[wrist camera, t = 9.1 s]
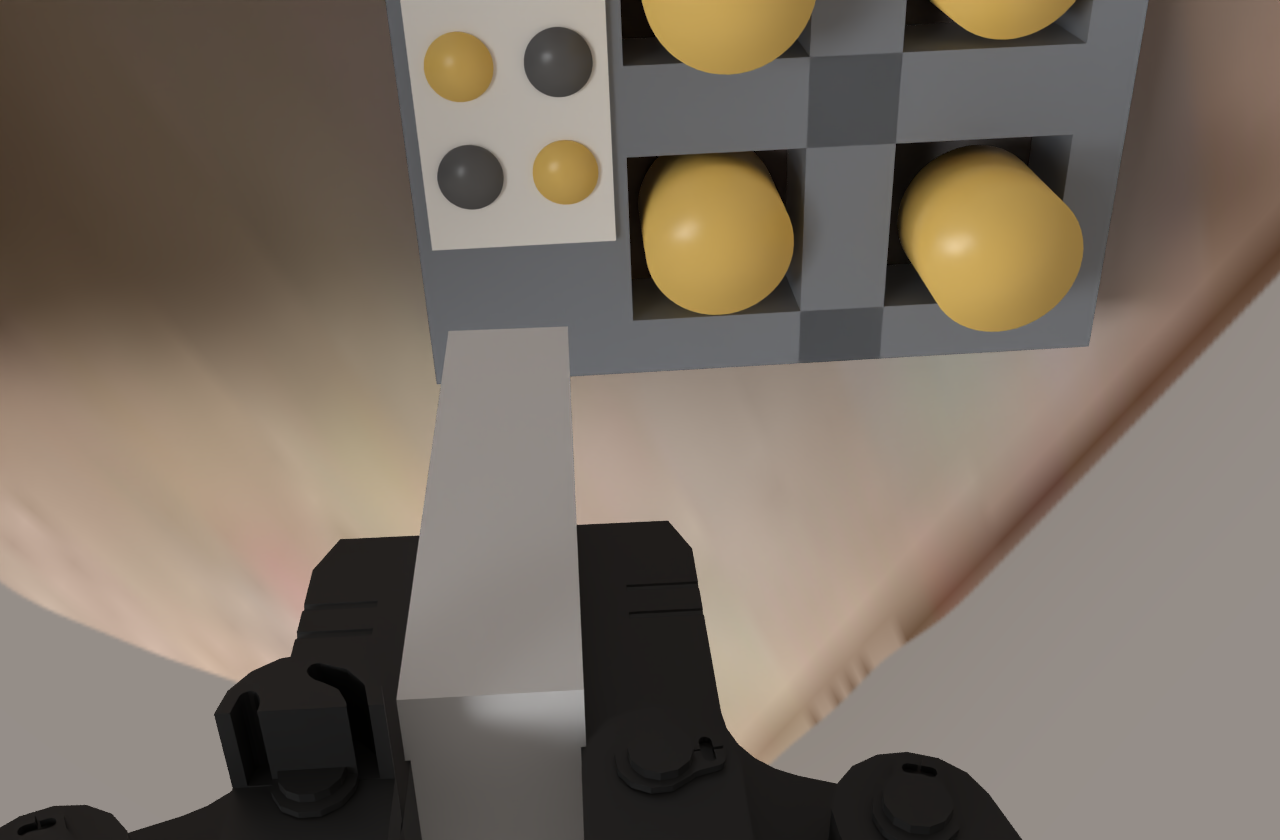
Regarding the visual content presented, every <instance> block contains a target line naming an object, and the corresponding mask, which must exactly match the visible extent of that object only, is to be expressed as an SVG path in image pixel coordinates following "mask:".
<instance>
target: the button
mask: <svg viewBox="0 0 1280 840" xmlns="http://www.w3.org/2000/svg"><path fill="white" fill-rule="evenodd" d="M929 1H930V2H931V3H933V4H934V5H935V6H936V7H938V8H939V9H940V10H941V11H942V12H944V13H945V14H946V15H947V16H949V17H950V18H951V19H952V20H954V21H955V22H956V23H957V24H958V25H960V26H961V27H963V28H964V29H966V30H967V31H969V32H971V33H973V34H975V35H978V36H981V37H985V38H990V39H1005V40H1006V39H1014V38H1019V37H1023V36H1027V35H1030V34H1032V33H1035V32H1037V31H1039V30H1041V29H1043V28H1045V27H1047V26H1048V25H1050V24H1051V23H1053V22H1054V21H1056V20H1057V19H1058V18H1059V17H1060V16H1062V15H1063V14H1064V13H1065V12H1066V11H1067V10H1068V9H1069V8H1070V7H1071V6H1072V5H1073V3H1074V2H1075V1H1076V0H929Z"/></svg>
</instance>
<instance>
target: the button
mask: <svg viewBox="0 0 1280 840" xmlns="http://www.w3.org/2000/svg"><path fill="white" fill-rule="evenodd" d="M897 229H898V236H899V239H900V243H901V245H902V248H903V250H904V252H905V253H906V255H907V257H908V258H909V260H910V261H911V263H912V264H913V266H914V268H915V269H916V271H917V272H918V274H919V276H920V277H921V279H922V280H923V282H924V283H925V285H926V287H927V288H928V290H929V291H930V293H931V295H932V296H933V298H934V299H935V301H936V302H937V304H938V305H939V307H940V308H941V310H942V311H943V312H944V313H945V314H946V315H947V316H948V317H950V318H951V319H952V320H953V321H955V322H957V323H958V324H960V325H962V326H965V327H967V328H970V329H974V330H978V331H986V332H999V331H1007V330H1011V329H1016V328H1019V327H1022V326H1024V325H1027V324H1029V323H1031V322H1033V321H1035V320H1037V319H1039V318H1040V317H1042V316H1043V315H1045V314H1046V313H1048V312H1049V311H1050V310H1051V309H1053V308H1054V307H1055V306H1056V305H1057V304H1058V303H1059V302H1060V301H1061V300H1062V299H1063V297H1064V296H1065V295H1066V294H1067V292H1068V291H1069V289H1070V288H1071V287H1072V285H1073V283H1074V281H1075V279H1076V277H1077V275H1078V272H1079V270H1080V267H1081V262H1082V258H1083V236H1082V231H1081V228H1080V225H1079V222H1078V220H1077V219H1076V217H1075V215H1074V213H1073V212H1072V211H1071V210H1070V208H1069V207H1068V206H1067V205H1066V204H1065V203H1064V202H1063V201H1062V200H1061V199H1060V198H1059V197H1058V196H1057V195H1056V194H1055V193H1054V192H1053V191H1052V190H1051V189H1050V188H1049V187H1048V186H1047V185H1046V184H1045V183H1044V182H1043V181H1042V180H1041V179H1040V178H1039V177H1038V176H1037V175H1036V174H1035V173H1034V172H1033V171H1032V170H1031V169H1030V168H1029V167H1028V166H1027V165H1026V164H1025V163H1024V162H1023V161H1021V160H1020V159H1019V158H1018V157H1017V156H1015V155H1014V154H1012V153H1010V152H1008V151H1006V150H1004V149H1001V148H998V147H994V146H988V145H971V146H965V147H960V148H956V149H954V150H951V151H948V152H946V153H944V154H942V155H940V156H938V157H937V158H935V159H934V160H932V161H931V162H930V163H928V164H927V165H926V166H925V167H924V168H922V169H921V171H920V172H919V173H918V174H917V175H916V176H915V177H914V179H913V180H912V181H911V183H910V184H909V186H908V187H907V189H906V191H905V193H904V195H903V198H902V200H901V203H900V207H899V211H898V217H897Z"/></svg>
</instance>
